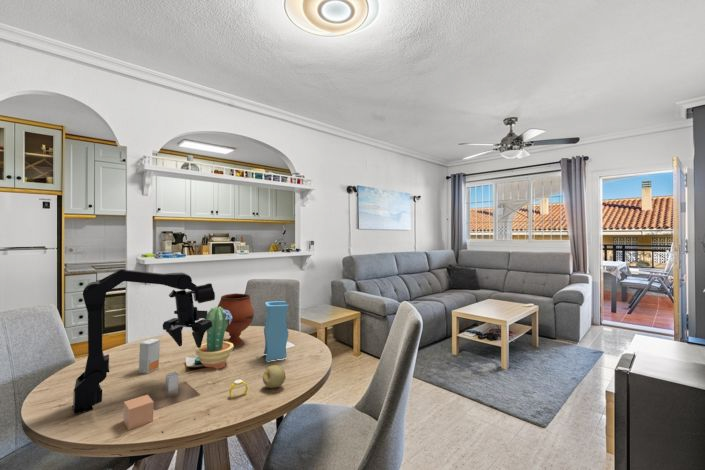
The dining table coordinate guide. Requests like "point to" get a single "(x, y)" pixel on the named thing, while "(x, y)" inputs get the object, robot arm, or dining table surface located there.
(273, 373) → the fruit
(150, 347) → the skincare box
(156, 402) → the board
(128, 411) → the salmon pink rectangular prism
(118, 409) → the dining table surface
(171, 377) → the post
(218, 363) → the potted cactus
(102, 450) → the dining table surface
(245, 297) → the brown clay urn
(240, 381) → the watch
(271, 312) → the vase
